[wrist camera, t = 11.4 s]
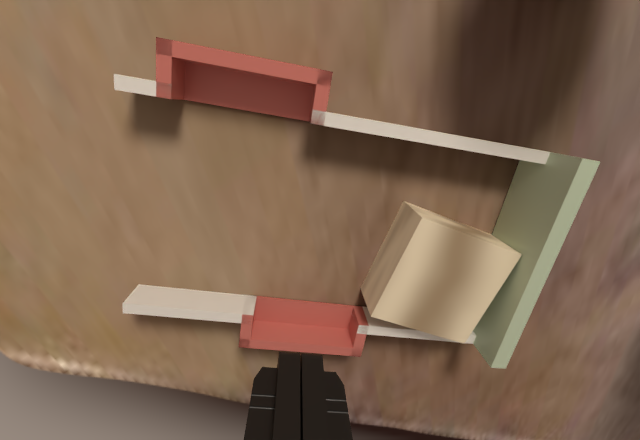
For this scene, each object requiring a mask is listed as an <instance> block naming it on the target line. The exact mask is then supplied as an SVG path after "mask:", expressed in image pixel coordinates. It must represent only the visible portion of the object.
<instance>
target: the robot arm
mask: <svg viewBox="0 0 640 440" xmlns="http://www.w3.org/2000/svg"><path fill="white" fill-rule="evenodd" d="M244 440H353V439H352V433H351V427H350V420H349V414H348V408H347V402H346V395H345V389H344V384H343V383H342V381H341V380H340V378H339V376H338V375H337V373H336V372H325V371H324V368H323V358H322V355H315V354H301V356H300V353H288V352H279V358H278V365H277V368H268V367H262V368H261V370H260V371H259V373H258V374H257V375H256V377H255V378H254V382H253V388H252V394H251V400H250V407H249V412H248V418H247V424H246V430H245V436H244Z"/></svg>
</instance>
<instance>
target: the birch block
mask: <svg viewBox="0 0 640 440" xmlns="http://www.w3.org/2000/svg"><path fill="white" fill-rule="evenodd" d="M521 256H522V254H520V253H519V252H517V251H516V250H514V249H513V248H511V247H510V246H508V245H507V244H505V243H504V242H502V241H501V240H499V239H498V238H496V237H494V236H493V235H491V234H489V233H487V232H484V231H481V230H479V229H476V228H473V227H471V226H468V225H466V224H463V223H460V222H458V221H455V220H452V219H450V218H447V217H444V216H442V215H439V214H437V213H434V212H431V211H429V210H426V209H423V208H421V207H418V206H416V205H413V204H410V203H408V202H405V201H403V203H402V205H401V207H400V209H399V211H398V213H397V215H396V217H395V219H394V221H393V223H392V225H391V227H390V229H389V231H388V233H387V235H386V237H385V239H384V241H383V243H382V245H381V247H380V249H379V251H378V254H377V256H376V258H375V260H374V262H373V264H372V266H371V268H370V270H369V272H368V274H367V276H366V278H365V280H364V282H363V284H362V286H361V288H360V289H361V291H362V294H363V297H364V300H365V302H366V305H367V308H368V310H369V313H370V316H371V317H374V318H377V319H381V320H384V321H388V322H391V323H395V324H398V325H401V326H405V327H408V328H412V329H415V330H419V331H422V332H425V333H429V334H432V335H436V336H439V337H443V338H446V339H449V340H453V341H456V342H460V343H463V344H465V342H466V341H467V339H468V338H469V336H470V334H471V333H472V331H473V330H474V328H475V327H476V325H477V324H478V322H479V321H480V319H481V317H482V316H483V314H484V313H485V311H486V310H487V308H488V307H489V305H490V304H491V302H492V300H493V299H494V297H495V296H496V294H497V293H498V291H499V290H500V288H501V287H502V285H503V283H504V282H505V280H506V279H507V277H508V276H509V274H510V273H511V271H512V270H513V268H514V266H515V265H516V263H517V262H518V260H519V259H520V257H521Z"/></svg>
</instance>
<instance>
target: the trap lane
mask: <svg viewBox="0 0 640 440" xmlns="http://www.w3.org/2000/svg"><path fill="white" fill-rule="evenodd" d="M332 73H333V72H331V71H325V70H320V69H315V68H310V67H305V66H300V65H295V64H290V63H285V62H280V61H275V60H270V59H265V58H260V57H254V56H249V55H244V54H239V53H234V52H229V51H224V50H219V49H214V48H209V47H204V46H199V45H194V44H188V43H183V42H178V41H173V40H168V39H163V38H158V37H156V81H153V80H148V79H142V78H136V77H130V76H124V75H118V74H114V89H115V90H120V91H126V92H132V93H138V94H143V95H149V96H155V97H161V98H166V99H179V100H189V101H195V102H200V103H206V104H212V105H218V106H223V107H229V108H235V109H241V110H246V111H252V112H258V113H263V114H269V115H275V116H281V117H286V118H292V119H298V120H304V121H309V122H310V123H311V124H316V125H322V126H328V127H333V128H339V129H345V130H351V131H356V132H362V133H368V134H374V135H379V136H385V137H391V138H397V139H402V140H408V141H414V142H420V143H425V144H431V145H437V146H443V147H449V148H454V149H460V150H466V151H472V152H477V153H483V154H489V155H495V156H500V157H506V158H512V159H518V160H520V161H519V163H518V166H517V169H516V171H515V174H514V177H513V179H512V182H511V185H510V187H509V190H508V193H507V195H506V198H505V201H504V203H503V206H502V209H501V211H500V214H499V217H498V219H497V222H496V225H495V227H494V230H493V233H492V235H493V236H494V237H496V238H498V239H499V240H501V241H502V242H504V243H505V244H507V245H508V246H510V247H511V248H513V249H514V250H516V251H517V252H519V253H520V254H522V256H521V257H520V259H519V260H518V262H517V263H516V265H515V266H514V268H513V270H512V271H511V273H510V274H509V276H508V277H507V279H506V280H505V282H504V283H503V285H502V287H501V288H500V290H499V291H498V293H497V294H496V296H495V297H494V299H493V300H492V302H491V304H490V305H489V307H488V308H487V310H486V311H485V313H484V314H483V316H482V317H481V319H480V321H479V322H478V324H477V325H476V327H475V328H474V330H473V331H472V333H471V334H470V336H469V338H468V339H467V341H466V342H465V343H471V344H474V346H475V347H476V348H477V350H478V351H479V352H480V354H481V355H482V356H483V358H484V359H485V360H486V362H487V363H488V364H489V366H490V367H491V368H504V369H506V367H507V364H508V362H509V360H510V358H511V356H512V353H513V351H514V349H515V347H516V345H517V343H518V340H519V338H520V336H521V334H522V332H523V329H524V327H525V325H526V323H527V321H528V319H529V316H530V314H531V312H532V310H533V308H534V306H535V303H536V301H537V299H538V297H539V295H540V292H541V290H542V288H543V286H544V284H545V282H546V279H547V277H548V275H549V273H550V271H551V268H552V266H553V264H554V262H555V260H556V258H557V255H558V253H559V251H560V249H561V247H562V245H563V242H564V240H565V238H566V236H567V234H568V231H569V229H570V227H571V225H572V223H573V221H574V218H575V216H576V214H577V212H578V210H579V207H580V205H581V203H582V201H583V199H584V197H585V194H586V192H587V190H588V188H589V186H590V184H591V181H592V179H593V177H594V175H595V173H596V170H597V168H598V166H599V164H600V162H599V161H594V160H589V159H584V158H578V157H573V156H568V155H563V154H558V153H553V152H547V151H542V150H537V149H531V148H526V147H520V146H515V145H509V144H503V143H498V142H492V141H487V140H481V139H476V138H470V137H465V136H459V135H453V134H448V133H442V132H437V131H431V130H426V129H420V128H415V127H409V126H403V125H398V124H392V123H387V122H381V121H376V120H370V119H364V118H359V117H353V116H348V115H342V114H337V113H331V112H326V109H327V103H328V97H329V91H330V85H331V79H332ZM123 313H129V314H140V315H151V316H163V317H174V318H186V319H197V320H208V321H220V322H231V323H241V330H240V340H239V347H242V348H255V349H268V350H280V351H293V352H306V353H319V354H332V355H345V356H357V357H361V354H362V350H363V346H364V342H365V339H366V335H367V334H368V335H380V336H391V337H402V338H414V339H425V340H437V341H448V342H456V341H453V340H449V339H446V338H443V337H439V336H436V335H432V334H429V333H425V332H422V331H419V330H415V329H412V328H408V327H405V326H401V325H398V324H395V323H391V322H388V321H384V320H381V319H377V318H374V317H371V316H370V313H369V310H368V308H367V307H362V306H352V305H342V304H332V303H322V302H312V301H302V300H291V299H281V298H271V297H261V296H251V295H241V294H231V293H221V292H211V291H201V290H191V289H181V288H171V287H161V286H151V285H141V284H139V285H138V286H137V287H136V288H135V289H134V291H133V292H132V293H131V294H130V295H129V296H128V298H127V299H126V300H125V301H124V302H123ZM459 343H460V342H459Z"/></svg>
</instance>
